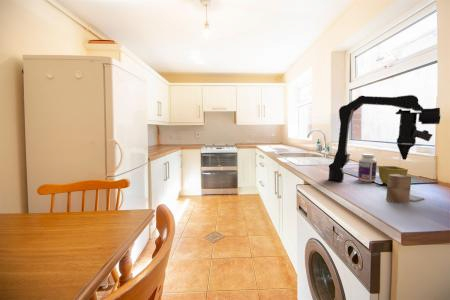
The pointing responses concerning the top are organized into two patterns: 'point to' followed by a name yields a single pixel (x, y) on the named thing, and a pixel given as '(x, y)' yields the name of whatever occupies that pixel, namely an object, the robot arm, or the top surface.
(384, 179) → the flower pot
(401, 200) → the walnut block
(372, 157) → the pill bottle
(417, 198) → the slate tile
